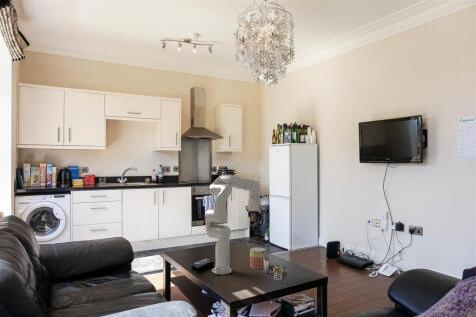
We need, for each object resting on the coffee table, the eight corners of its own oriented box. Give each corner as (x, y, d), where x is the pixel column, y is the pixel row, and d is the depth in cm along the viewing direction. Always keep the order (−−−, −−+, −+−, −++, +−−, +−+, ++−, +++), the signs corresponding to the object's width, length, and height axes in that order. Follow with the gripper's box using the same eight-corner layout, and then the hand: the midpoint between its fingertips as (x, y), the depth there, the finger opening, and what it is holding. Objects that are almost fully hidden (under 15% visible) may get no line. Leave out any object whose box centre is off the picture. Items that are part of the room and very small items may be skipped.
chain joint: (283, 280, 203) (283, 276, 203) (272, 280, 204) (272, 276, 204) (283, 267, 230) (282, 263, 230) (273, 266, 231) (273, 263, 231)
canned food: (264, 269, 226) (264, 251, 226) (248, 268, 228) (248, 251, 228) (266, 264, 237) (266, 247, 237) (251, 263, 239) (251, 247, 239)
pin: (267, 274, 215) (267, 259, 215) (262, 273, 217) (262, 258, 217) (270, 272, 218) (269, 257, 218) (265, 271, 220) (264, 257, 220)
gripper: (243, 196, 260) (243, 217, 259) (262, 197, 251) (262, 219, 251) (247, 195, 266) (247, 216, 266) (266, 196, 258) (266, 217, 257)
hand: (254, 217), depth 258 cm, fingers open, 9 cm apart
